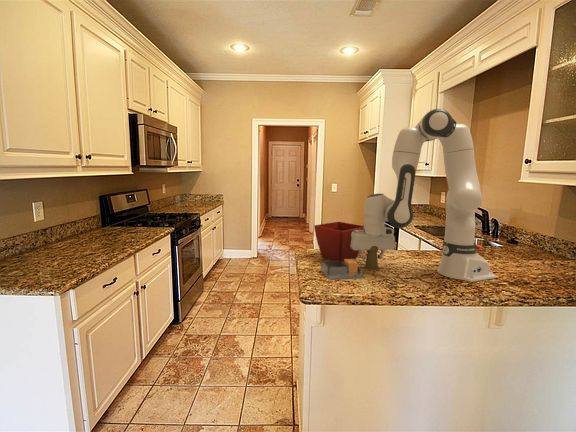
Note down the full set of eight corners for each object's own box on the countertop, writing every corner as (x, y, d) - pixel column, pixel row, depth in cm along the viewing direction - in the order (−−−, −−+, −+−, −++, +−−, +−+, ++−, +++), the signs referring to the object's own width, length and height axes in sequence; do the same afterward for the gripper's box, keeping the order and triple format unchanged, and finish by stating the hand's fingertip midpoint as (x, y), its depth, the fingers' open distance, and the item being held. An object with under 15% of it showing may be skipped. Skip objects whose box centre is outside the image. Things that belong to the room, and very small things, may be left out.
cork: (380, 267, 138) (381, 244, 136) (374, 270, 133) (375, 246, 132) (368, 264, 142) (369, 242, 140) (362, 267, 137) (363, 244, 136)
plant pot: (312, 256, 154) (313, 224, 152) (337, 251, 166) (338, 221, 163) (340, 266, 139) (341, 231, 137) (365, 259, 151) (367, 226, 149)
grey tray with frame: (352, 268, 137) (352, 258, 136) (363, 278, 124) (364, 267, 123) (320, 269, 134) (321, 259, 134) (329, 279, 122) (329, 269, 121)
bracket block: (352, 267, 133) (352, 258, 132) (357, 272, 127) (357, 263, 126) (343, 267, 132) (344, 259, 131) (348, 272, 126) (348, 263, 126)
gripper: (354, 231, 130) (352, 261, 132) (397, 230, 133) (395, 260, 135) (349, 228, 136) (347, 257, 138) (390, 227, 139) (388, 256, 142)
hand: (371, 258), depth 137 cm, fingers open, 7 cm apart
